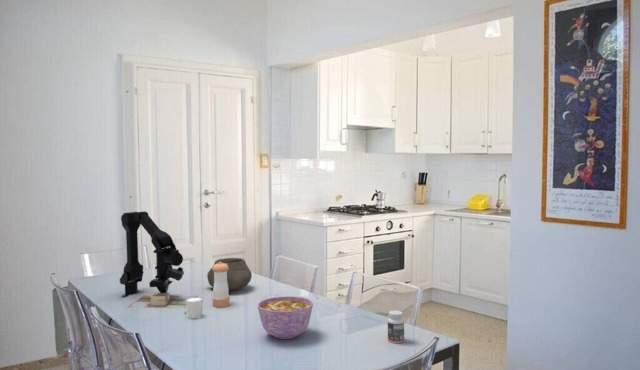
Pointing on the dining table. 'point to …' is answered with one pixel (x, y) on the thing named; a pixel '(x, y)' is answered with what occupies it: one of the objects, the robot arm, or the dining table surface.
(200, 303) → the white cylinder
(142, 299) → the trap deck
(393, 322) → the pill bottle
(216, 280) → the salt shaker
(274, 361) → the dining table surface
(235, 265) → the clay pot
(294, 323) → the bowl of food
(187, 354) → the dining table surface
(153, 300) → the birch block
